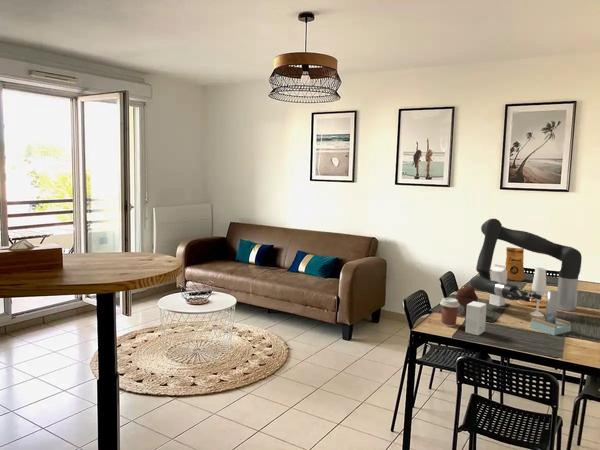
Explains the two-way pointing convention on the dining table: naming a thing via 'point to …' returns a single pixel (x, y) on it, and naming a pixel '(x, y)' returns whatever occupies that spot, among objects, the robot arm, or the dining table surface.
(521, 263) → the coffee package
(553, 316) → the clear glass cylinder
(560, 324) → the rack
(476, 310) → the small box
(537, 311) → the champagne flute
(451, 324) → the coffee cup
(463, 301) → the ice cream bowl
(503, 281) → the milk
